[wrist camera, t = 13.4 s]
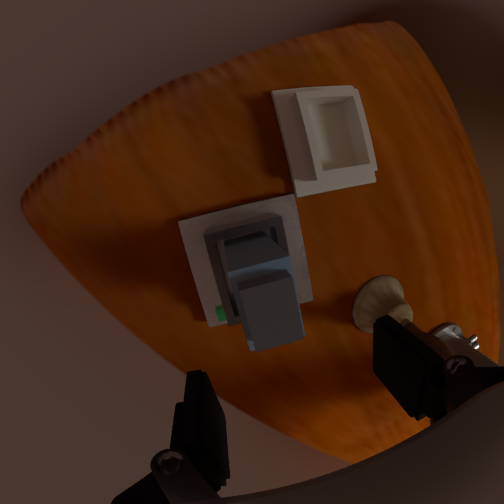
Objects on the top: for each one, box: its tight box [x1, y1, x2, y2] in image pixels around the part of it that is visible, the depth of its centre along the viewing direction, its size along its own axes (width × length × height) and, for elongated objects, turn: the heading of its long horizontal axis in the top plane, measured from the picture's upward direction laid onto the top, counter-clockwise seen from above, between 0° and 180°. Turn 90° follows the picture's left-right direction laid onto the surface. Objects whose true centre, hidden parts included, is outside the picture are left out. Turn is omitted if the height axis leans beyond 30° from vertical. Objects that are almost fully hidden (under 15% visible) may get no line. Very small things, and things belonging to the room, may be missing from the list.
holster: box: [271, 86, 378, 197], centre depth 26 cm, size 10×12×4 cm
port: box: [178, 194, 313, 327], centre depth 27 cm, size 12×12×5 cm
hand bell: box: [352, 276, 454, 361], centre depth 26 cm, size 8×8×16 cm
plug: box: [224, 231, 305, 352], centre depth 22 cm, size 4×6×12 cm, turn 14°
